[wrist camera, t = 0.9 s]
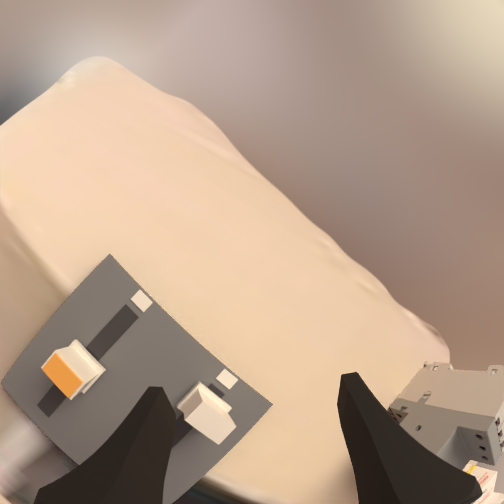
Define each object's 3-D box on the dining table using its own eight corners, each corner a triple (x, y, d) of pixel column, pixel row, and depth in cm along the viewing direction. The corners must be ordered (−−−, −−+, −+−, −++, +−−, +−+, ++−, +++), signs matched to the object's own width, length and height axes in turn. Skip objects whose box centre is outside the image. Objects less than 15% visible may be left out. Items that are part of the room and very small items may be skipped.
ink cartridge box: (444, 454, 31) (514, 473, 17) (444, 474, 30) (508, 494, 16) (407, 484, 28) (478, 516, 14) (407, 503, 27) (472, 535, 13)
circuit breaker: (354, 442, 28) (447, 487, 14) (425, 361, 32) (520, 365, 18) (377, 471, 28) (460, 512, 13) (442, 395, 32) (526, 406, 18)
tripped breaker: (86, 391, 21) (68, 407, 16) (57, 361, 20) (34, 370, 16) (106, 369, 22) (90, 381, 17) (77, 339, 21) (55, 343, 17)
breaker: (208, 428, 23) (216, 450, 18) (176, 404, 22) (178, 423, 18) (230, 405, 24) (243, 423, 19) (199, 380, 23) (205, 394, 19)
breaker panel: (154, 508, 21) (154, 517, 19) (8, 380, 20) (-1, 383, 18) (266, 399, 27) (273, 404, 25) (113, 257, 26) (109, 253, 24)
